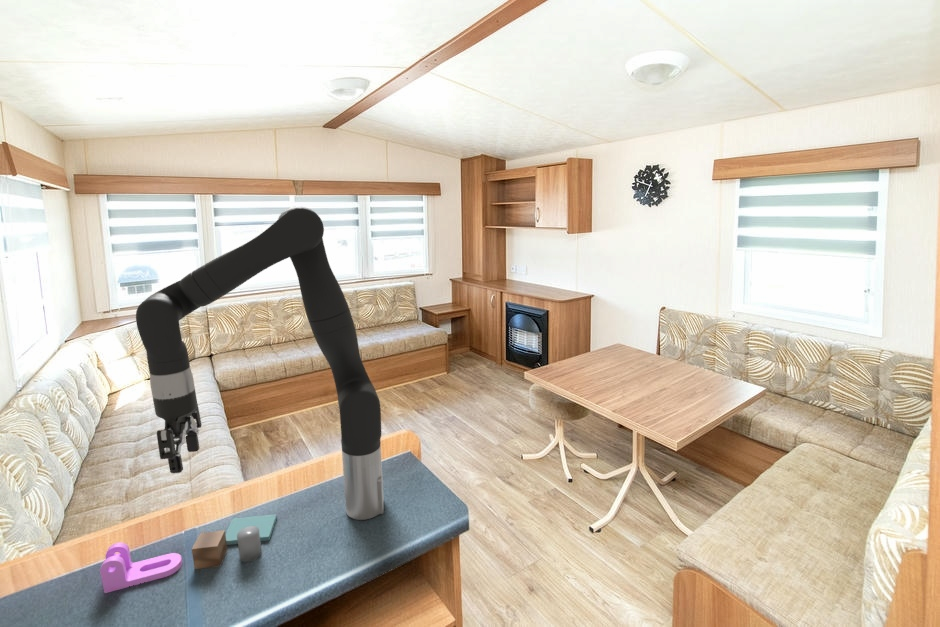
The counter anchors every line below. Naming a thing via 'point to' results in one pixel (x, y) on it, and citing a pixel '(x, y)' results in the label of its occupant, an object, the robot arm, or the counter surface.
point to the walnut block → (209, 549)
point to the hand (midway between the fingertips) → (185, 461)
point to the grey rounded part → (249, 543)
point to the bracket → (134, 568)
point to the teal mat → (261, 522)
